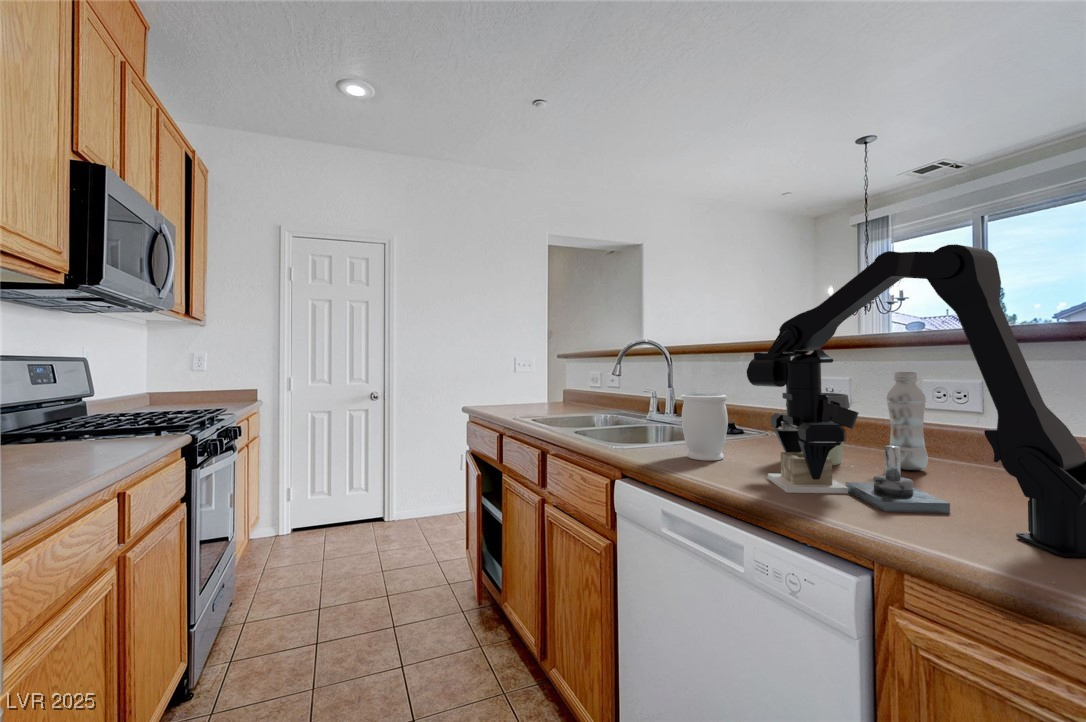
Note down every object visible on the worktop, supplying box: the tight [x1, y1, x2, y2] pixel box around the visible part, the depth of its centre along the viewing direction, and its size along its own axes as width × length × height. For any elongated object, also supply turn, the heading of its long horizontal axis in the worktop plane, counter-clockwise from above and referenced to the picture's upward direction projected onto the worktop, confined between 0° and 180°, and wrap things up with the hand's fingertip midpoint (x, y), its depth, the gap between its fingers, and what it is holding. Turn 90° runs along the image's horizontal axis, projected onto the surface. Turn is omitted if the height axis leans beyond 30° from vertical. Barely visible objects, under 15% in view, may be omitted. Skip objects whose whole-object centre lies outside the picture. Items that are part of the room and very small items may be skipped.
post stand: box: [845, 445, 951, 514], centre depth 78 cm, size 12×9×9 cm
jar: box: [680, 393, 729, 462], centre depth 115 cm, size 11×10×15 cm
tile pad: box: [767, 472, 849, 495], centre depth 88 cm, size 10×10×1 cm
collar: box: [780, 451, 833, 485], centre depth 88 cm, size 6×6×4 cm
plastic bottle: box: [886, 371, 929, 471], centre depth 99 cm, size 6×7×20 cm
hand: (805, 473), depth 88 cm, fingers open, 9 cm apart
